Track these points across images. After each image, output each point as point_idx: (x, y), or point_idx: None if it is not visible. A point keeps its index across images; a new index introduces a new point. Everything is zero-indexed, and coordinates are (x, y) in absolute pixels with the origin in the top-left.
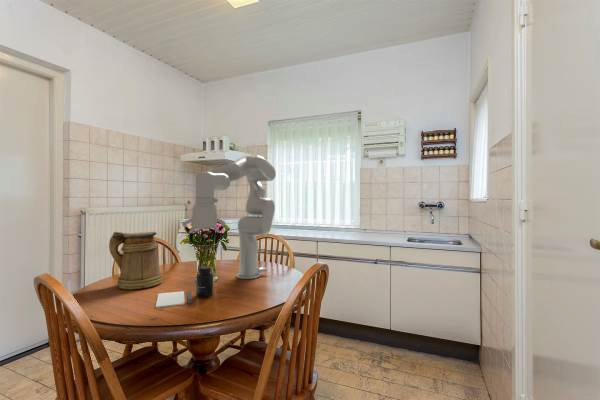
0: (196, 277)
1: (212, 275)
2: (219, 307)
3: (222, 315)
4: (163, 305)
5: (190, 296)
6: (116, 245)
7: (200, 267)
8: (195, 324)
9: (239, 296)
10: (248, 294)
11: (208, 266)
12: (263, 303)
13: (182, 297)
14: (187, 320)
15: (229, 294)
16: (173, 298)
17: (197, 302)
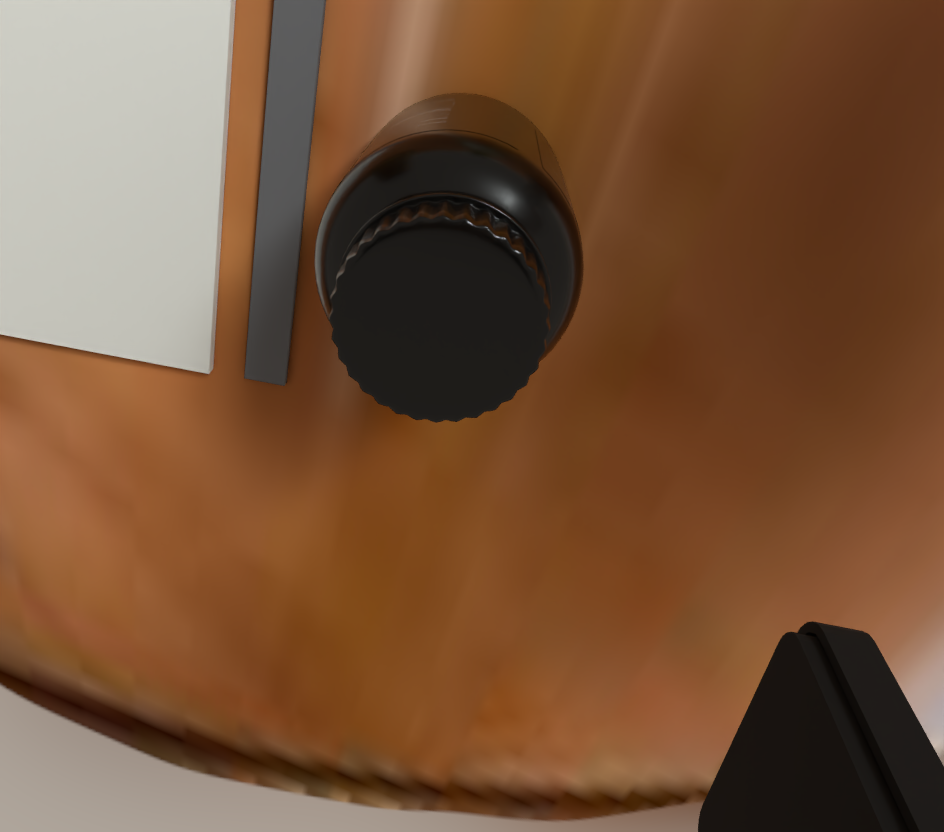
0: (315, 256)
1: (550, 349)
2: (493, 589)
3: (458, 729)
4: (8, 329)
5: (298, 159)
6: None
7: (355, 292)
8: (254, 764)
9: (792, 422)
10: (911, 413)
11: (519, 276)
12: None
13: (201, 169)
14: (210, 690)
15: (736, 302)
16: (99, 150)
17: (343, 372)
